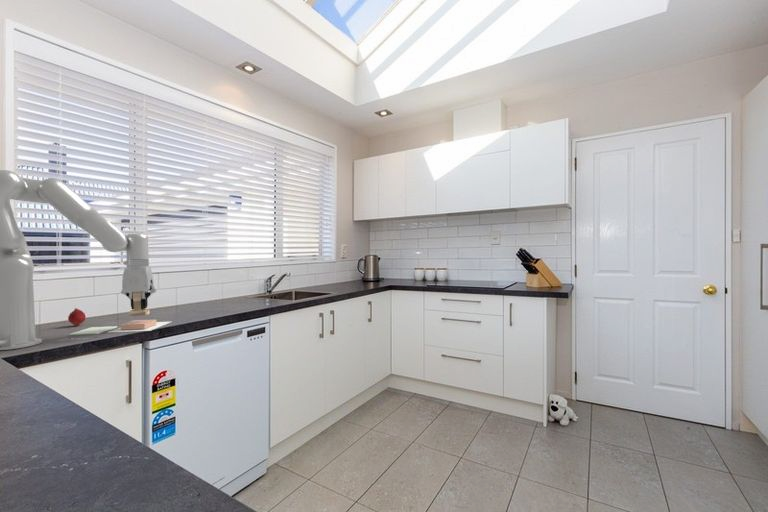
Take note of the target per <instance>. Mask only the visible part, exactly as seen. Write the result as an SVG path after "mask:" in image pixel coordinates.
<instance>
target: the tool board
mask: <svg viewBox="0 0 768 512" xmlns="http://www.w3.org/2000/svg"><path fill="white" fill-rule="evenodd" d="M115 329H118V325H115V326H91V327H88V328H84V329H81V330H78V331H74V332H72V333H69V334H68V335H69V336H80V335H81V336H83V335H85V336H86V335H98V334H101V333H104V332H109V331H112V330H115Z"/></svg>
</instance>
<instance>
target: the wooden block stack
mask: <svg viewBox="0 0 768 512" xmlns="http://www.w3.org/2000/svg"><path fill="white" fill-rule="evenodd" d="M141 299H142V293H141V292H133V304H134V309H131V310H129V317H133V316H134V317H135V316H148V315H150V308H145V309H141Z"/></svg>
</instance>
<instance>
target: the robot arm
mask: <svg viewBox="0 0 768 512" xmlns="http://www.w3.org/2000/svg"><path fill="white" fill-rule="evenodd" d="M12 200H13V201H23V202H29V203H30V202H31V203H39V204H49V205H50V206H51V207H53V209H55V210H57V212H58V213H59V214H61V215H62V216H63V217H64V218H66V219H67V220H68V221H69V222H70V223H72V224H73V225H74V226H76V227H78V228H80V229H82V230H83V231H85V232H86V233H88V234H89V235H90V236H91V237H92V238H93V239H95V240H96V241H98V242H99V243H100V244H101V246H102V247H103V249H104V250H106V251H107V252H110V253H118V252H119V253H120V252H126V256H125V257H126V260H125V261H123V265H125V266H126V267H124V268H123V273H122V282H121V283H122V284H121V286H122V289H121V291H120V293H121V294H122V295H124V296H126V297H127V298H128V299H129V300H130V307H131V310H134V304H133V292H141V293H142V299H141V309H148V305H149V304H148V299H149V297H151V295H153V294H155V293H156V292H157V290H156V288H155V285H154V276H153V271H152V267H151V266H150V259H149V257H150V256H149V237H148V235H147V234H145V233H130V234H124V233H122V232H121V231H120V230H119V229H118V228H116V226H114V225H113V224H112V222H110V221H109V220H107V219H106V218H105V217H104V216H103V215H101V214H100V213H99V212H98V211H97V210H96V209H95V208H94V207H92V206H91V205H90V204H88V202H86V200H85V199H83V198H82V197H81V196H80V195H78V194H77V193H76V192H75V191H74V190H73V189H72V188H71V187H69V186H68V185H67V184H66V183H65V182H63V181H62V180H60V179H58V178H53V177H49V178H44V179H43V180H41V179H40V180H39V179H33V178H26V177H22V176H21V175H19V174H17V173H16V172H14V171H11V170H5V169H0V351H8V350H10V351H11V350H17V349H22V348H28V347H32V346H36V345H39V344H42V341H43V339H42V338H40V337H36V321H35V320H36V319H35V316H36V315H35V299H34V298H35V297H34V295H35V294H34V293H35V292H34V279H33V277H34V270H35V265H34V262H33V259H32V258H33V257H32V256H31V253H30V250H29V247H28V244H27V241H26V238H25V235H24V233H23V231H21V230H20V229H19V227H18V225H17V222H16V219H15V216H14V212H13V209H12V206H11V201H12Z"/></svg>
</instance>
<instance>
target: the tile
mask: <svg viewBox="0 0 768 512" xmlns="http://www.w3.org/2000/svg"><path fill="white" fill-rule="evenodd" d="M157 322H158V321H157V319H135V320H134V319H133V320H131V321H127V322H125V323H122V324H120V328H121V330H139V329H146V328H149V327H151V326H154V325H156V324H157Z"/></svg>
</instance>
